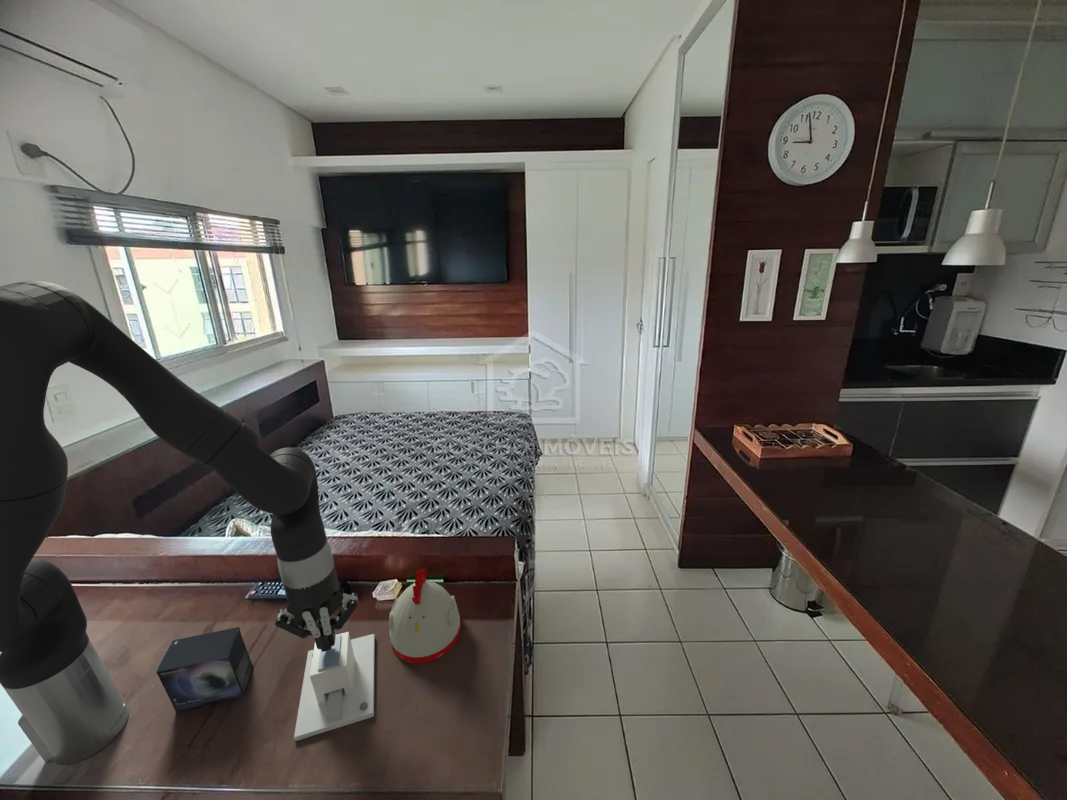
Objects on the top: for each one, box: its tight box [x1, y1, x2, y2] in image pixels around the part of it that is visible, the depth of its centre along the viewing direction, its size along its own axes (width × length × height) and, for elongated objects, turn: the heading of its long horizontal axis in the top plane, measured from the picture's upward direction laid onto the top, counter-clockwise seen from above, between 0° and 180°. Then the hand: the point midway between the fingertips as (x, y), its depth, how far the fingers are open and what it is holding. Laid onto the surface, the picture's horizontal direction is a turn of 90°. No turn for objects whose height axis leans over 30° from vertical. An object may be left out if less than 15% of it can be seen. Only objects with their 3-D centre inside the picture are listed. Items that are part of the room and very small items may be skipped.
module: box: [310, 631, 355, 704], centre depth 77 cm, size 6×7×7 cm
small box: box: [155, 626, 254, 713], centre depth 76 cm, size 11×6×10 cm, turn 105°
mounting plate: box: [293, 633, 376, 742], centre depth 79 cm, size 12×16×3 cm
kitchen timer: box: [388, 568, 462, 664], centre depth 86 cm, size 14×14×15 cm
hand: (327, 646), depth 76 cm, fingers closed
